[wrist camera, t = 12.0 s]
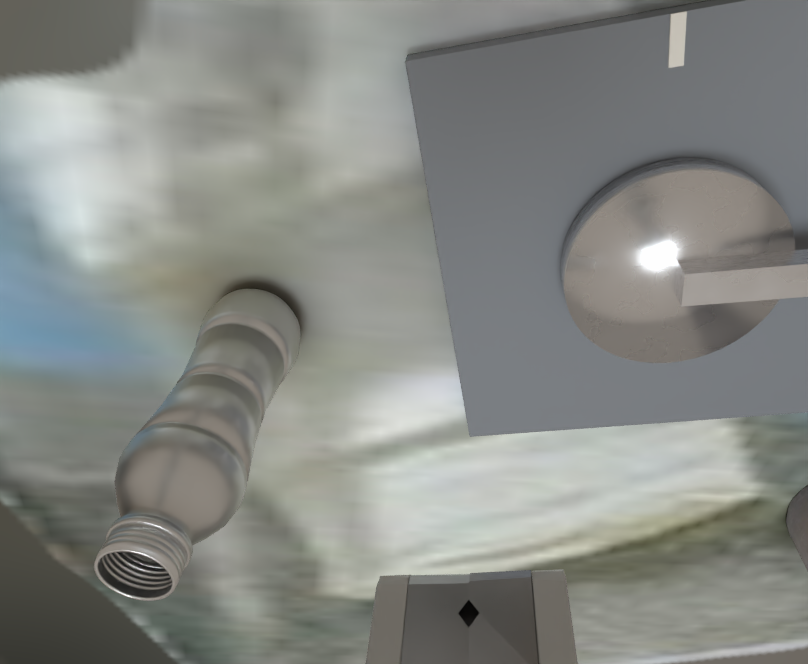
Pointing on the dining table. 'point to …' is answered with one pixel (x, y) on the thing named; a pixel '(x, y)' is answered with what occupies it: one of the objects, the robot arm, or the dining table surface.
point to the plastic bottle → (197, 445)
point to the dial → (679, 261)
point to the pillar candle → (799, 523)
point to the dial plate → (586, 176)
